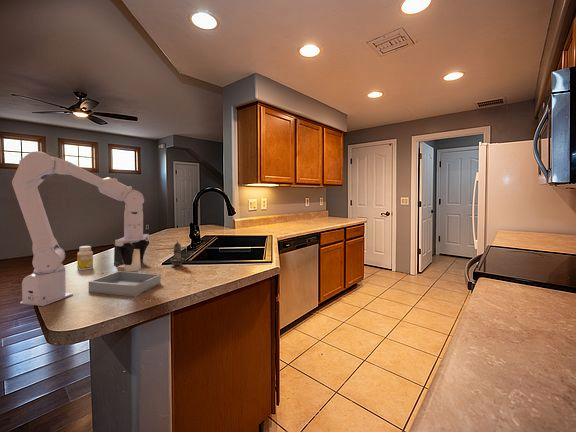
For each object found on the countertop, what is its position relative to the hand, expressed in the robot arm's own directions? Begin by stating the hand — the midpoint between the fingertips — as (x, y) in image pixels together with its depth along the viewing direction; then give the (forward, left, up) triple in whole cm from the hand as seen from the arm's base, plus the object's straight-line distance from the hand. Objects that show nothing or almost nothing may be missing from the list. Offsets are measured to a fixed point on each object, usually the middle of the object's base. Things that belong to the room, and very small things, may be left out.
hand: (133, 262), depth 93 cm
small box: (+27, +24, -9) cm, 37 cm away
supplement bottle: (+15, +35, -9) cm, 39 cm away
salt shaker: (+29, +1, -9) cm, 31 cm away
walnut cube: (+9, +10, -9) cm, 16 cm away
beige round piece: (0, 0, -2) cm, 2 cm away
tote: (-1, +2, -9) cm, 9 cm away
